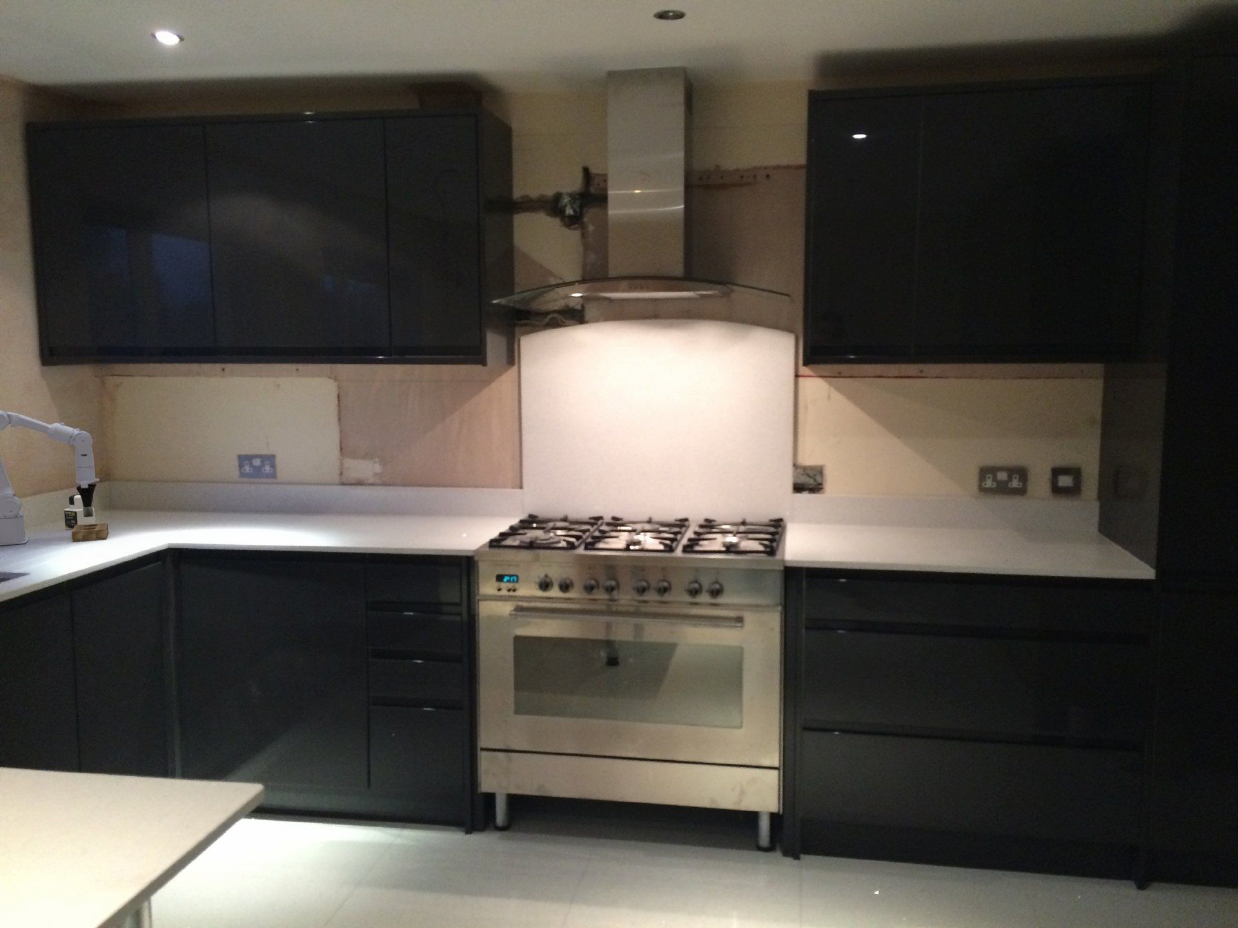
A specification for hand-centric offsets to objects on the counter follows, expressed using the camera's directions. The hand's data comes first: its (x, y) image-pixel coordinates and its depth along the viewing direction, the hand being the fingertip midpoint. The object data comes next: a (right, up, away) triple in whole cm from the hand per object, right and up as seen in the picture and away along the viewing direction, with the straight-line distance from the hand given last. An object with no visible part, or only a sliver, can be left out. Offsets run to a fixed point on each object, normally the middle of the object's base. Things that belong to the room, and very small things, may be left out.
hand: (88, 506), depth 344 cm
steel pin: (0, -4, 0) cm, 4 cm away
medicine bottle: (-12, -9, +17) cm, 23 cm away
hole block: (+2, -11, -1) cm, 11 cm away
